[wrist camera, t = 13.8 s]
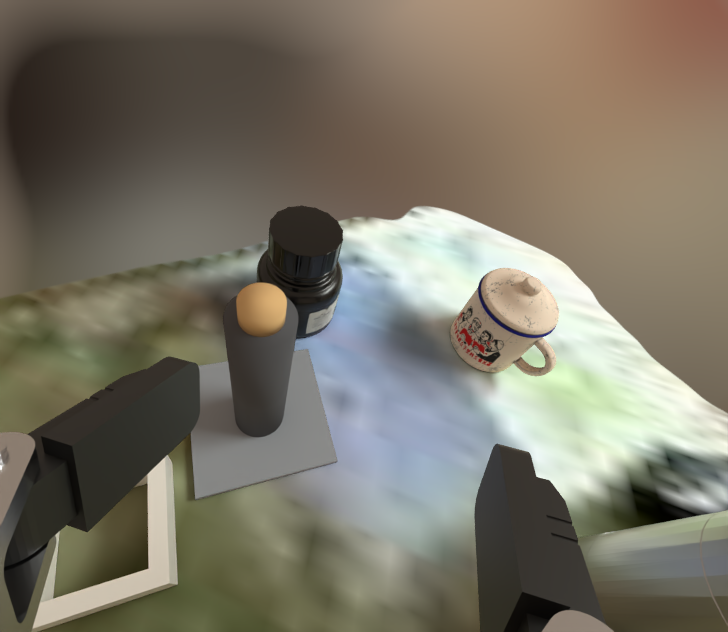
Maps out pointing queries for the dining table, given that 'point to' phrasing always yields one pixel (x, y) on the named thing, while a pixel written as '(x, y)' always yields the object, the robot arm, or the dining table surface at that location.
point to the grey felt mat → (257, 454)
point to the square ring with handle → (131, 585)
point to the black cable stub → (260, 355)
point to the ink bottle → (305, 264)
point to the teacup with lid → (506, 323)
